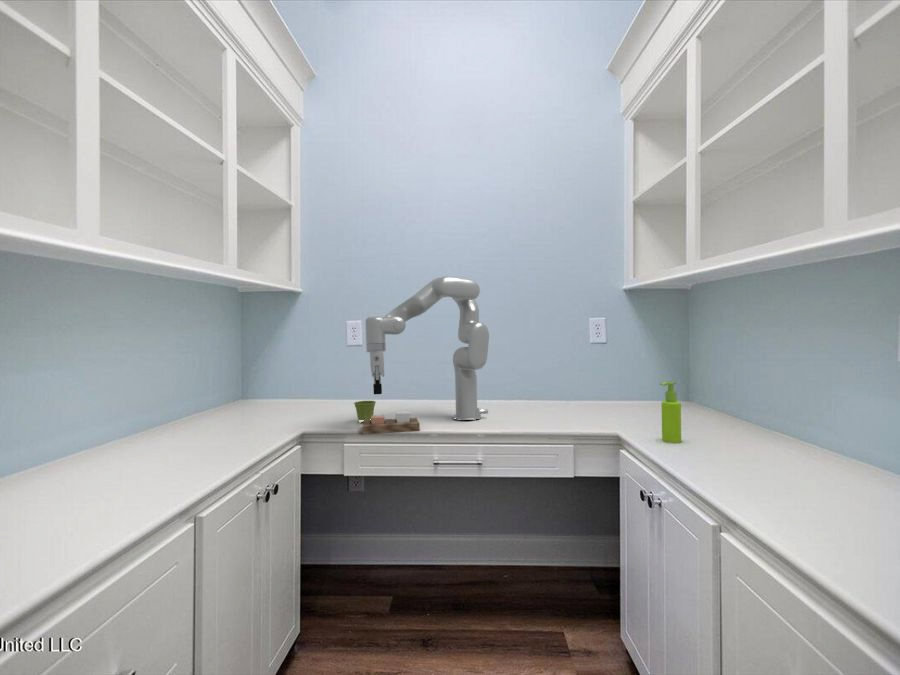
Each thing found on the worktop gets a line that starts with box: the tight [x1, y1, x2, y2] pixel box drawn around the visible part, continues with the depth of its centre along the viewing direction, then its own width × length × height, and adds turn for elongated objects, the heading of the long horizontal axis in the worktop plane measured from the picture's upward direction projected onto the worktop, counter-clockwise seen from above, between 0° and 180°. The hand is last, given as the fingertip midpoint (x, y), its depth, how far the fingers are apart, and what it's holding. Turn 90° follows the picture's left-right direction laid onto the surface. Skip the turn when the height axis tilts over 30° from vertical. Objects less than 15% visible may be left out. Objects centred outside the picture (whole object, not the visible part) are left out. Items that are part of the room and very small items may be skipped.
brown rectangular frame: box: [361, 417, 421, 435], centre depth 183 cm, size 22×12×3 cm, turn 100°
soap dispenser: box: [659, 381, 682, 444], centre depth 155 cm, size 6×7×20 cm
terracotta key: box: [371, 414, 385, 424], centre depth 182 cm, size 5×5×4 cm
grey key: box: [395, 410, 411, 423], centre depth 184 cm, size 5×5×4 cm
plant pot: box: [353, 400, 377, 420], centre depth 199 cm, size 9×9×9 cm
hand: (377, 393), depth 182 cm, fingers closed
